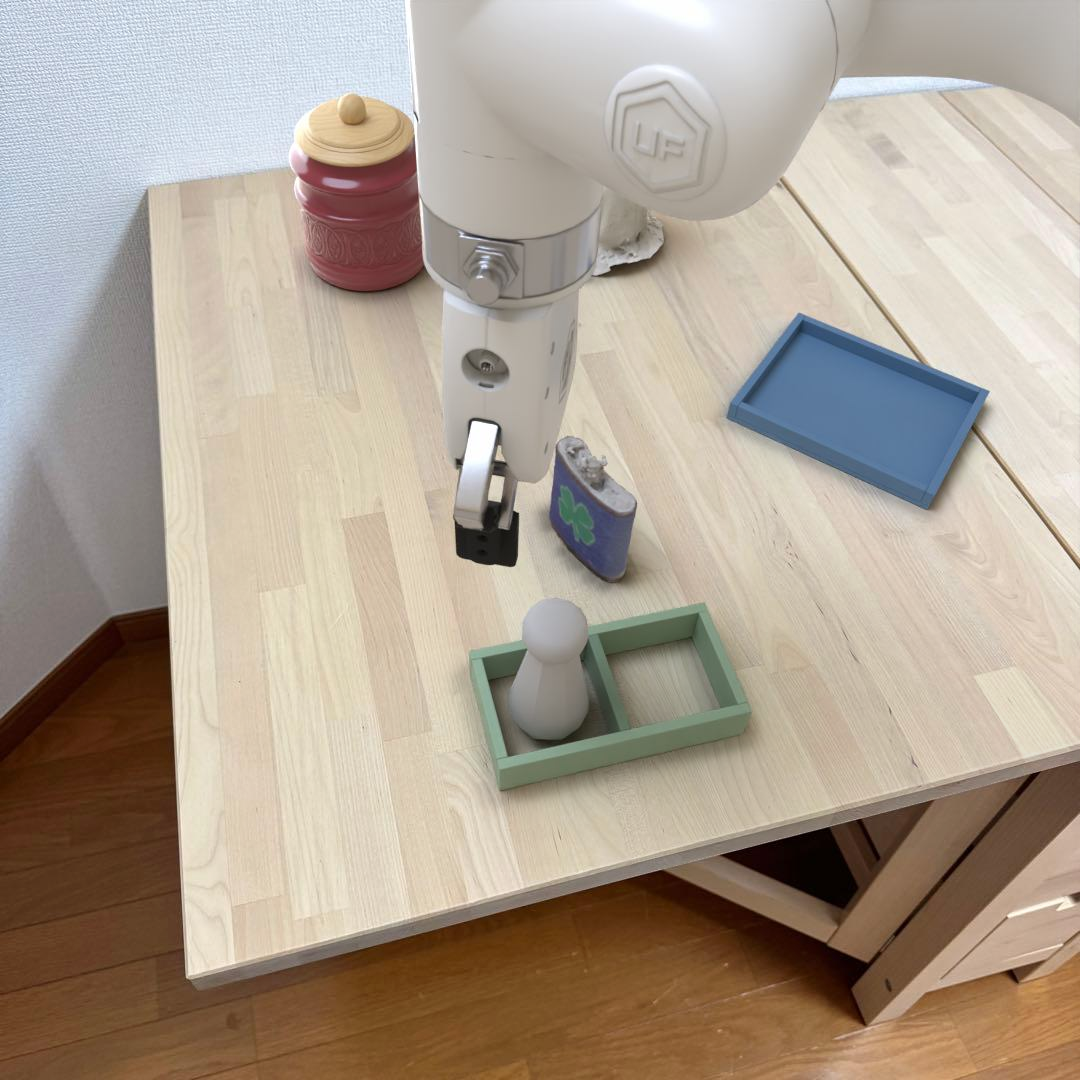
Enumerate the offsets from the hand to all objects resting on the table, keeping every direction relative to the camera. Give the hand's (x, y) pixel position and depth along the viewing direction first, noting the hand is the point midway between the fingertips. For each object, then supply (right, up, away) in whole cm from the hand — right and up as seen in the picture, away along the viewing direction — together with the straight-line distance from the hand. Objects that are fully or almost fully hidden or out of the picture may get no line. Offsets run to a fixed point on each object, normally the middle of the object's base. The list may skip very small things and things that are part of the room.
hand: (507, 489), depth 55 cm
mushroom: (+9, +30, +54) cm, 62 cm away
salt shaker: (+2, -16, +18) cm, 24 cm away
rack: (+7, -15, +19) cm, 25 cm away
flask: (+6, -3, +28) cm, 29 cm away
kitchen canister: (-16, +27, +51) cm, 60 cm away
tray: (+32, +9, +39) cm, 51 cm away
